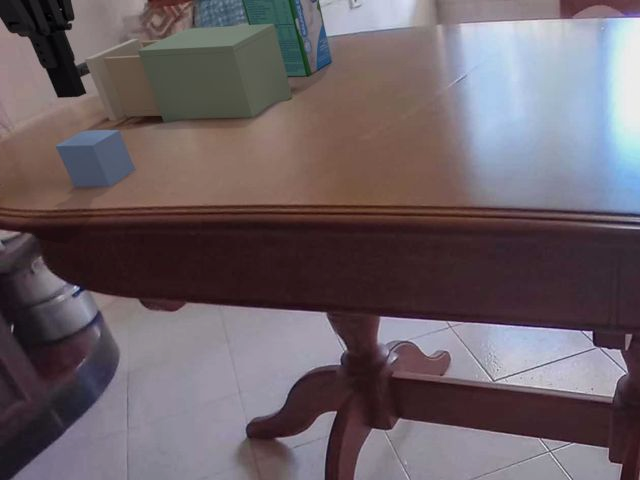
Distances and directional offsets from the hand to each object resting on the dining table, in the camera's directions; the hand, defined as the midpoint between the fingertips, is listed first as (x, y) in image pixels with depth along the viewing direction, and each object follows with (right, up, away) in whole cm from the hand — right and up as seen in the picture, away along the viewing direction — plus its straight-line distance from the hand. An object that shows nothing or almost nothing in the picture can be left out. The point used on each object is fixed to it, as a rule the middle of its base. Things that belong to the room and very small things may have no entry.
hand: (72, 95), depth 80 cm
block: (+1, -9, +5) cm, 11 cm away
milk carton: (+14, +20, +43) cm, 50 cm away
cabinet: (+9, +7, +26) cm, 28 cm away
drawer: (-4, +8, +28) cm, 30 cm away
